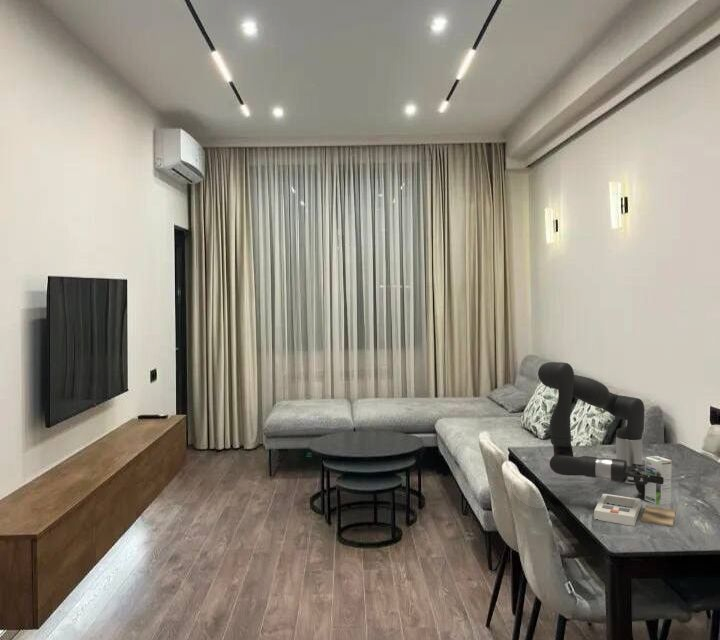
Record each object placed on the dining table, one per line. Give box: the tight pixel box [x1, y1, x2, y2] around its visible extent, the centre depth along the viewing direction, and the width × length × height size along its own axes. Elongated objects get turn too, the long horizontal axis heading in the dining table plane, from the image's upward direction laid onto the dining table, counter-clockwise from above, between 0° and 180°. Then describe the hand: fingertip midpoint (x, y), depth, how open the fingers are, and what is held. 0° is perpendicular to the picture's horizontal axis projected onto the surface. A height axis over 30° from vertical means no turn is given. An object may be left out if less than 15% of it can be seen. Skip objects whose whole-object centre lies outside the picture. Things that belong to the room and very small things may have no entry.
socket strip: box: [593, 493, 642, 527], centre depth 194 cm, size 18×12×4 cm, turn 148°
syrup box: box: [644, 455, 673, 506], centre depth 189 cm, size 6×6×14 cm
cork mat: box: [640, 505, 676, 527], centre depth 190 cm, size 14×9×1 cm, turn 148°
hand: (664, 477), depth 188 cm, fingers closed on syrup box, 8 cm apart
